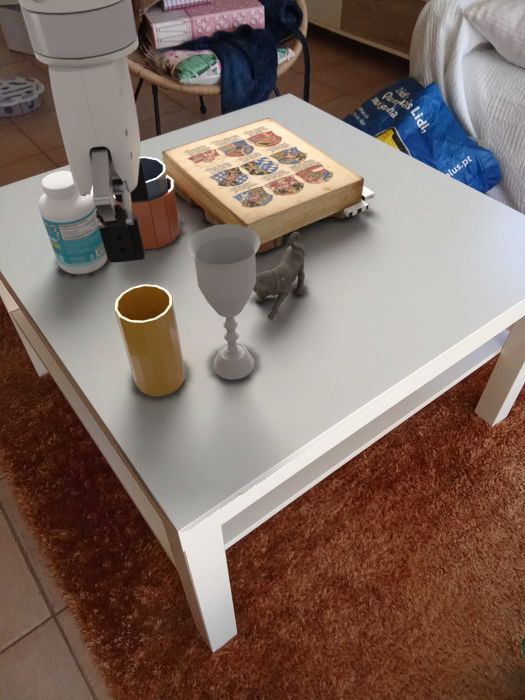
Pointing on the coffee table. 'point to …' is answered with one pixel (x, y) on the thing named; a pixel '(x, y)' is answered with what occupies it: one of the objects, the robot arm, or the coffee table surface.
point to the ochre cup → (151, 339)
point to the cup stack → (156, 206)
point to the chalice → (227, 286)
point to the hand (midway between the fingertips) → (130, 227)
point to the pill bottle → (71, 225)
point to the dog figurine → (282, 276)
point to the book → (264, 181)
